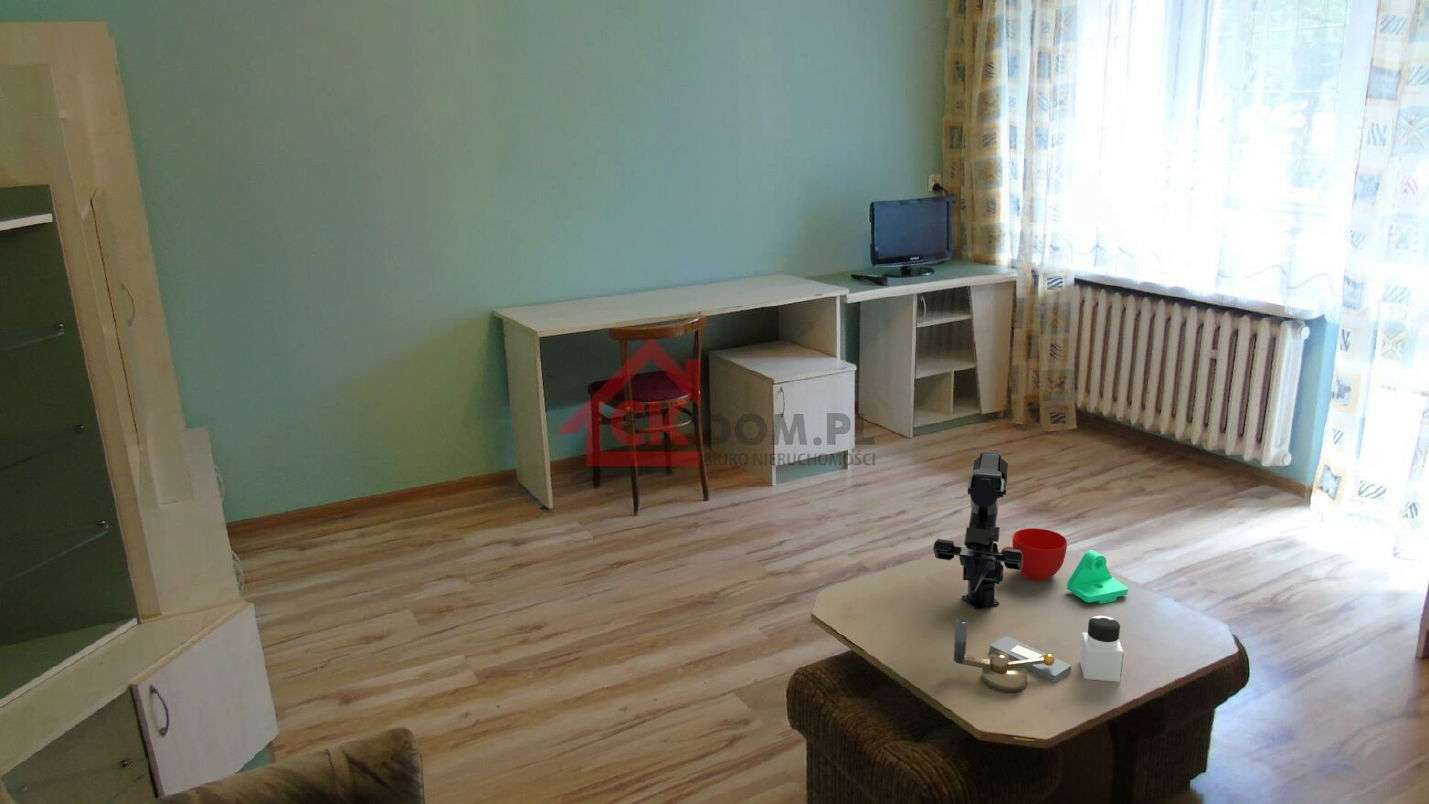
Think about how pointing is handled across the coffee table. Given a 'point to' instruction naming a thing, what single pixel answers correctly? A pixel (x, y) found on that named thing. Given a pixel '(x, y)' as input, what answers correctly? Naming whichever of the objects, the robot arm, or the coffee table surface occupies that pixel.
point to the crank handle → (995, 664)
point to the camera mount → (1095, 580)
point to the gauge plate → (1025, 652)
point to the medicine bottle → (1101, 650)
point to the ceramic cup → (1040, 552)
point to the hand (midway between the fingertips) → (972, 591)
